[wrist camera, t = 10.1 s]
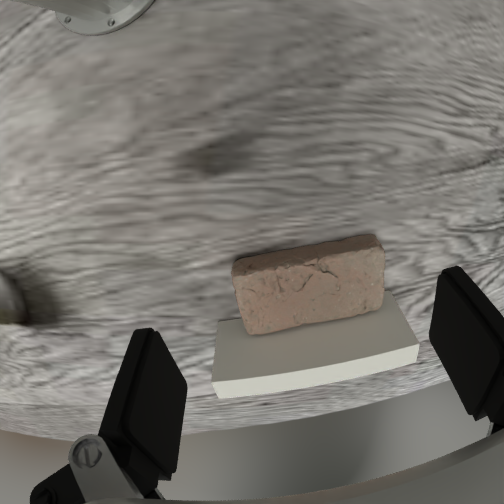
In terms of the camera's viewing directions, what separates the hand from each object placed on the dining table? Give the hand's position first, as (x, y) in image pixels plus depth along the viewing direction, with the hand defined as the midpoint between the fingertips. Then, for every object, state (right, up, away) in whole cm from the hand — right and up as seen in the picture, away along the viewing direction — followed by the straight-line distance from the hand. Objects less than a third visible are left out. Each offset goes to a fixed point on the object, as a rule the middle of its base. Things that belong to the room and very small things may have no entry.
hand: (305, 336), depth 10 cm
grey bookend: (+6, -7, +31) cm, 32 cm away
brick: (+5, 0, +28) cm, 28 cm away
